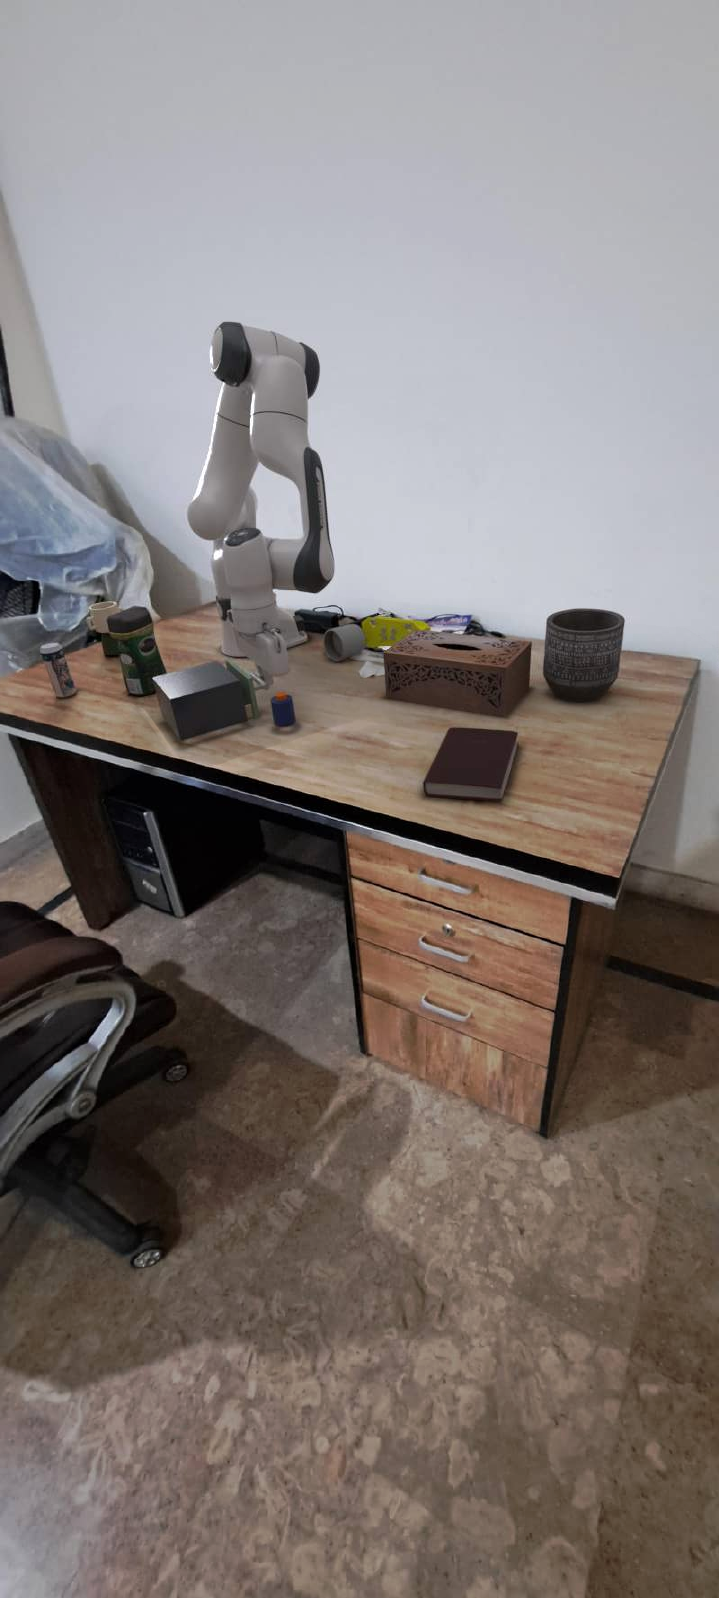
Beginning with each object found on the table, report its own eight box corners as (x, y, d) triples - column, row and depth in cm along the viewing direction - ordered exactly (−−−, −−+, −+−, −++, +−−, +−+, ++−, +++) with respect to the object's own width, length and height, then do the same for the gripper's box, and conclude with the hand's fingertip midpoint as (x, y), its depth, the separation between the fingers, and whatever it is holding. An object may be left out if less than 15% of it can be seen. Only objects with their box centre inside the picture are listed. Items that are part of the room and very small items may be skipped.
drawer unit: (226, 704, 145) (217, 660, 140) (249, 727, 135) (240, 680, 129) (164, 722, 140) (151, 677, 135) (182, 747, 130) (170, 699, 124)
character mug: (126, 644, 185) (112, 597, 178) (141, 649, 181) (128, 600, 174) (91, 658, 179) (76, 609, 172) (106, 662, 175) (91, 613, 168)
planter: (528, 697, 135) (531, 624, 127) (563, 673, 144) (569, 603, 136) (594, 713, 127) (603, 637, 119) (628, 687, 135) (638, 614, 127)
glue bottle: (291, 721, 135) (285, 687, 131) (300, 729, 132) (295, 694, 128) (272, 727, 134) (266, 693, 130) (280, 735, 130) (274, 700, 126)
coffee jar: (151, 678, 162) (130, 601, 152) (175, 683, 158) (155, 604, 148) (120, 694, 155) (97, 615, 145) (145, 699, 152) (122, 618, 142)
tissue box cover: (529, 688, 139) (531, 641, 134) (504, 717, 129) (505, 667, 123) (417, 672, 151) (415, 629, 146) (386, 697, 141) (383, 652, 136)
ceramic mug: (369, 654, 163) (367, 622, 159) (344, 664, 159) (341, 632, 155) (341, 646, 170) (337, 616, 166) (316, 656, 166) (312, 625, 162)
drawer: (255, 694, 147) (247, 653, 142) (279, 715, 137) (272, 672, 132) (175, 717, 141) (164, 674, 136) (194, 741, 130) (184, 696, 125)
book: (422, 796, 108) (422, 779, 106) (448, 740, 123) (448, 724, 121) (501, 805, 104) (502, 787, 102) (518, 745, 119) (519, 729, 117)
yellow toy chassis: (363, 650, 166) (360, 617, 161) (375, 642, 170) (372, 609, 165) (420, 658, 158) (419, 623, 154) (431, 650, 162) (430, 616, 158)
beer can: (69, 698, 156) (52, 648, 149) (51, 698, 157) (34, 649, 150) (81, 690, 160) (64, 641, 153) (63, 690, 161) (46, 641, 154)
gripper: (292, 626, 126) (302, 695, 133) (252, 603, 141) (263, 665, 149) (261, 634, 123) (273, 703, 131) (223, 610, 139) (236, 673, 146)
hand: (267, 683), depth 140 cm, fingers closed, pressing on drawer
